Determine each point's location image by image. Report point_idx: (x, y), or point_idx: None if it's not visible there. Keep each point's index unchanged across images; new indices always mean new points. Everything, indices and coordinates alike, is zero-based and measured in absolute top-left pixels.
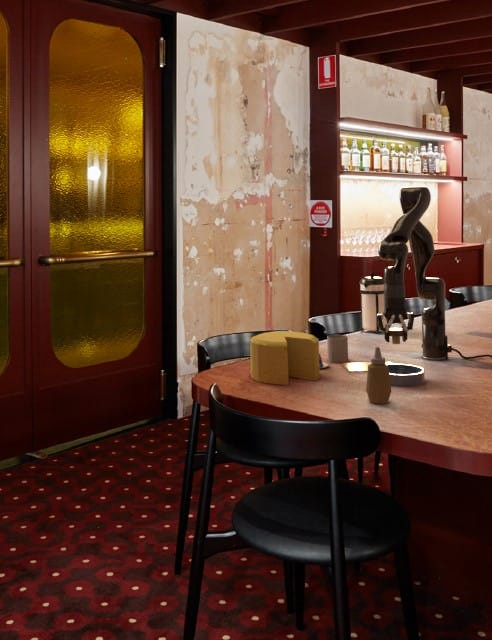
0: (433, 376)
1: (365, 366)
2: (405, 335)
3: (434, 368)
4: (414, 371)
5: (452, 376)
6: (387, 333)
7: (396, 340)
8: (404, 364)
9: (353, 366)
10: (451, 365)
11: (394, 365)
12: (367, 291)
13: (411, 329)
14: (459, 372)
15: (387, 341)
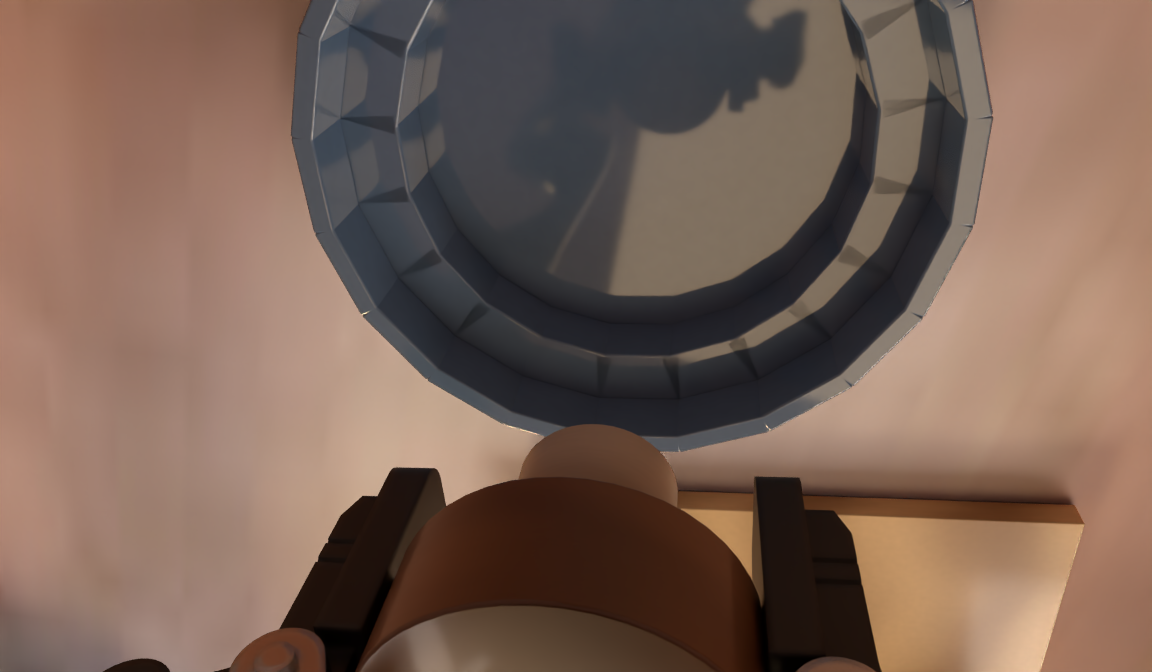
0: (244, 322)
1: None
2: (353, 558)
3: (223, 565)
4: (416, 293)
5: (69, 305)
6: (821, 633)
7: (596, 475)
8: (502, 409)
9: (960, 663)
10: (92, 621)
11: (620, 426)
12: None
13: (128, 665)
14: (17, 428)
15: (799, 495)
